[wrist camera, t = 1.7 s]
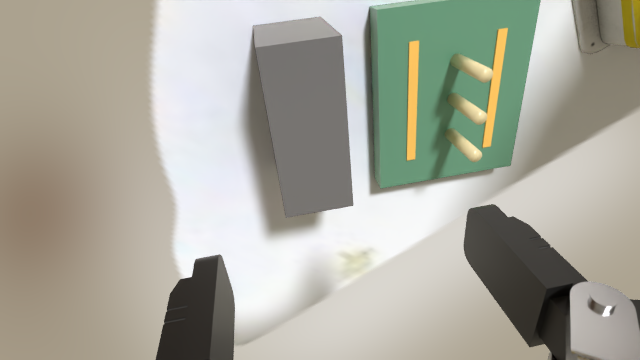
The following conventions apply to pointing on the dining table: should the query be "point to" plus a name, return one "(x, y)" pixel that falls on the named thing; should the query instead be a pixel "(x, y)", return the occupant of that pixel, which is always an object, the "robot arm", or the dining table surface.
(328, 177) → the block
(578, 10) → the emergency button
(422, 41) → the header board
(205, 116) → the dining table surface
